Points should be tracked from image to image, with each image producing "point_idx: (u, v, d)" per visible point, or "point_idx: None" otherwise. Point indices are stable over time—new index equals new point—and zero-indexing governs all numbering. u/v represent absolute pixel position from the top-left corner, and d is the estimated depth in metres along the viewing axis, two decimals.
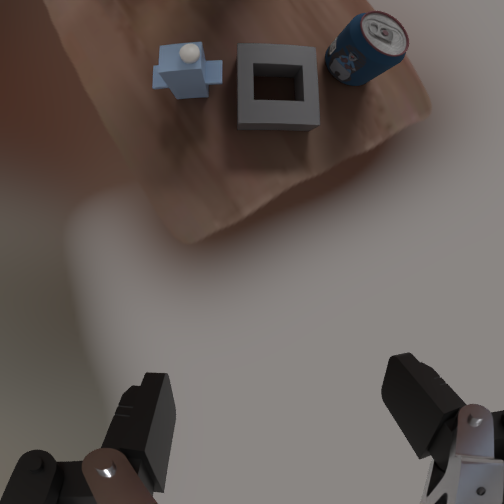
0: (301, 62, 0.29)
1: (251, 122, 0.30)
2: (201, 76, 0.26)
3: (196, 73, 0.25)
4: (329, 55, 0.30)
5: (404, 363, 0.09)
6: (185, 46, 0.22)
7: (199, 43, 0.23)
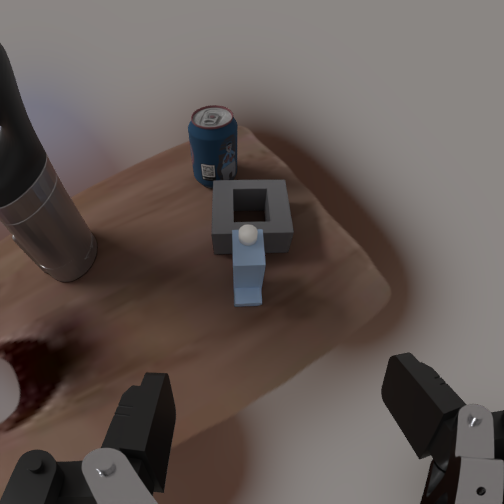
0: (230, 189, 0.40)
1: (291, 223, 0.38)
2: None
3: None
4: (214, 178, 0.44)
5: (404, 363, 0.09)
6: (241, 235, 0.28)
7: (234, 231, 0.30)
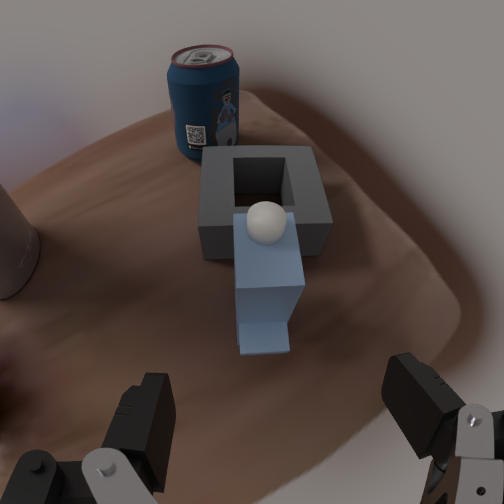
0: (228, 158, 0.25)
1: (328, 209, 0.23)
2: None
3: None
4: (205, 146, 0.29)
5: (404, 363, 0.09)
6: (254, 223, 0.13)
7: (237, 216, 0.15)
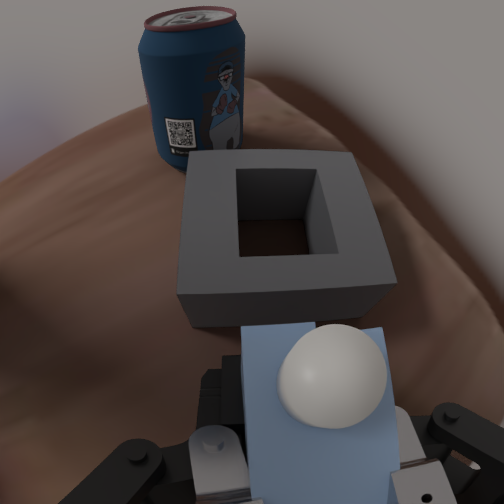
0: (228, 170, 0.16)
1: (388, 257, 0.14)
2: None
3: None
4: (195, 150, 0.20)
5: None
6: (304, 402, 0.04)
7: (252, 349, 0.06)
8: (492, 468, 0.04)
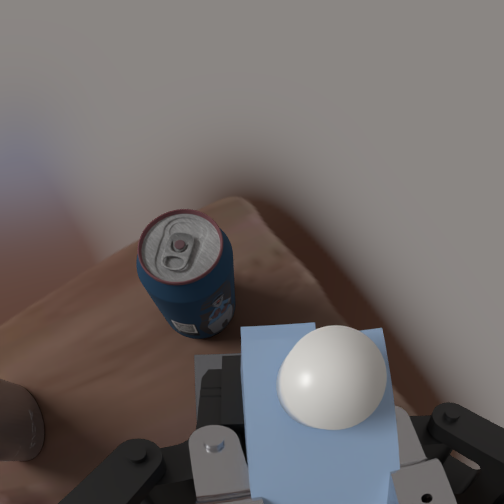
0: None
1: None
2: None
3: None
4: (197, 333, 0.25)
5: None
6: (304, 403, 0.04)
7: (251, 350, 0.06)
8: (492, 468, 0.04)
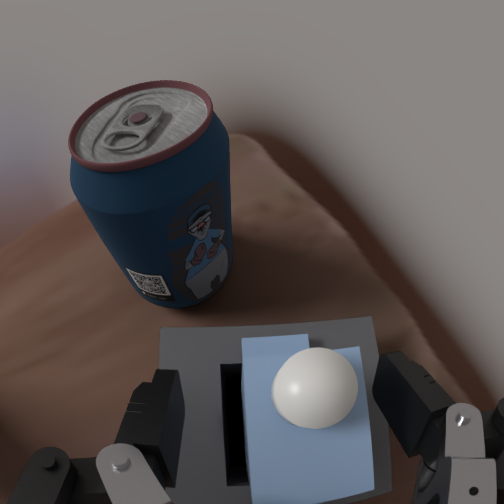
0: (211, 366, 0.12)
1: (389, 465, 0.10)
2: None
3: None
4: (170, 297, 0.16)
5: (393, 361, 0.09)
6: (291, 408, 0.05)
7: (250, 365, 0.07)
8: None
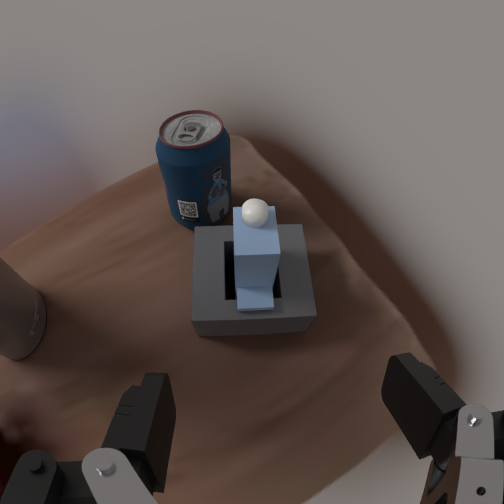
0: (219, 242, 0.27)
1: (313, 299, 0.24)
2: None
3: None
4: (198, 218, 0.30)
5: (404, 363, 0.09)
6: (246, 213, 0.20)
7: (235, 209, 0.21)
8: None
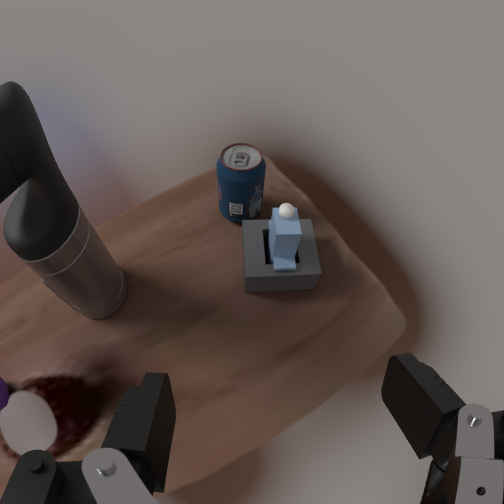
0: (259, 230, 0.42)
1: (319, 264, 0.40)
2: None
3: None
4: (241, 215, 0.46)
5: (404, 363, 0.09)
6: (282, 211, 0.35)
7: (274, 209, 0.37)
8: None
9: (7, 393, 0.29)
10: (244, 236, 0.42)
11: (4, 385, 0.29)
